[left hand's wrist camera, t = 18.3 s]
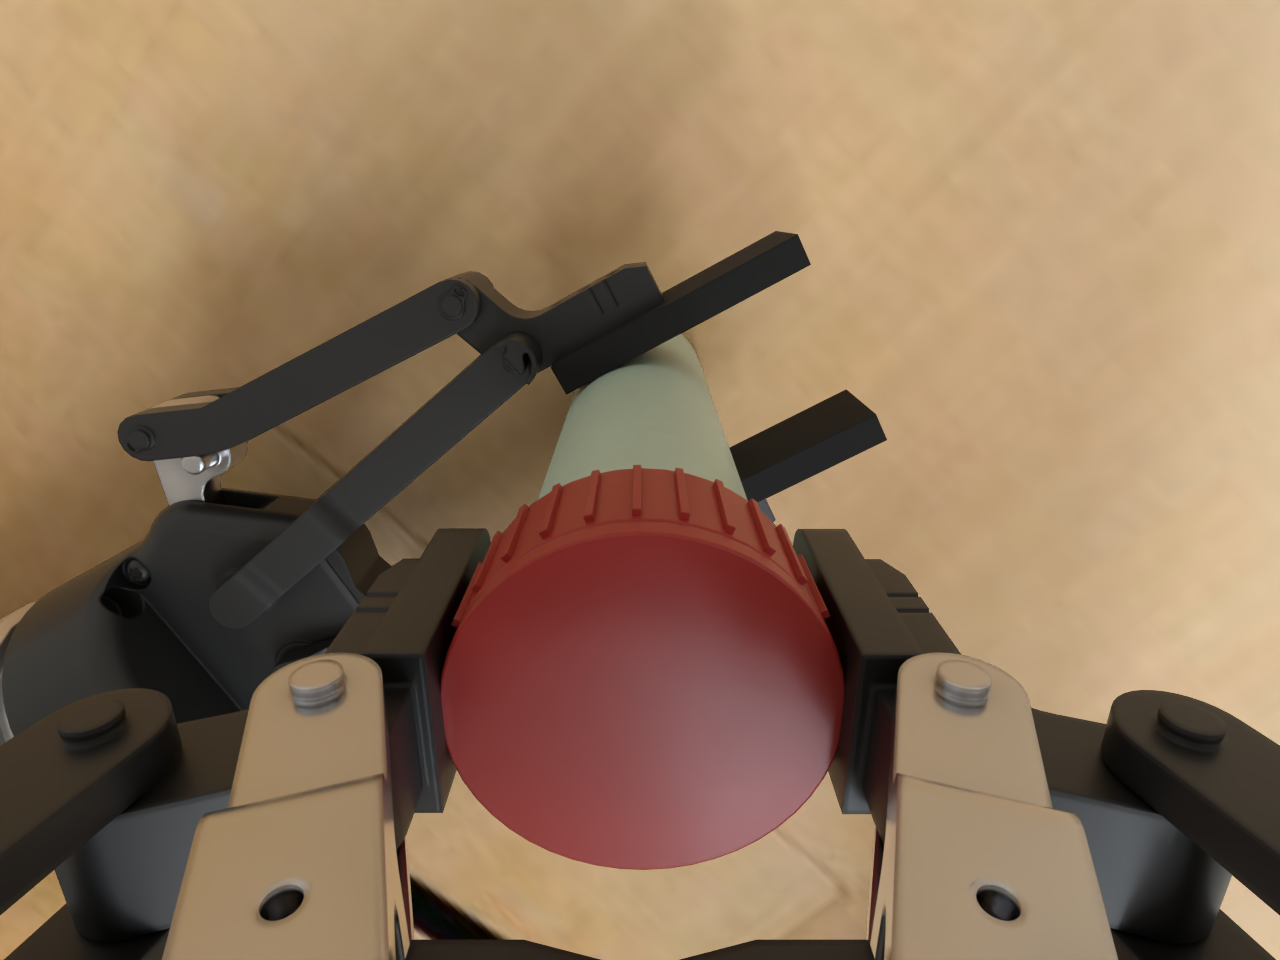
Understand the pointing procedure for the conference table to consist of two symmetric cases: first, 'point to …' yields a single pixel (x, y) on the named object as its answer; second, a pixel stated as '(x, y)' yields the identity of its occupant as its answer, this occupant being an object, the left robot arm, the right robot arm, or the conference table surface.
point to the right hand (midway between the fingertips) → (828, 333)
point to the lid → (642, 673)
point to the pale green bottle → (645, 422)
